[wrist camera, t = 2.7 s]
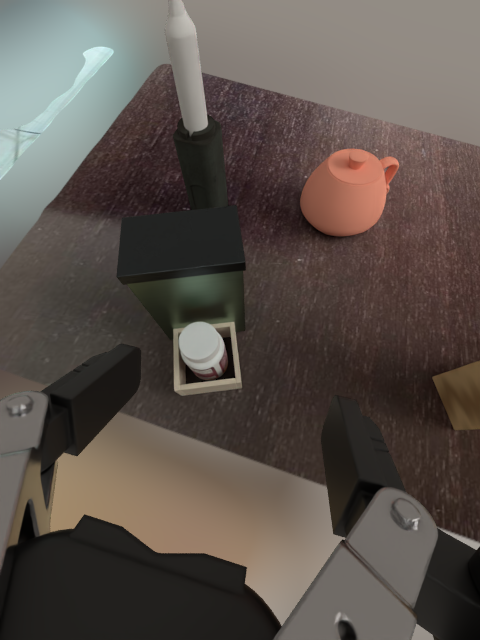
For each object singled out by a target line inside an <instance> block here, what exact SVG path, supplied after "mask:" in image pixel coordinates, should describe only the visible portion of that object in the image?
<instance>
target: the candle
mask: <svg viewBox="0 0 480 640" xmlns="http://www.w3.org/2000/svg"><path fill="white" fill-rule="evenodd" d="M168 13H169V14H168V18H167V22H166V27H165V35H166V41H167V45H168V50H169V55H170V60H171V65H172V69H173V74H174V79H175V84H176V89H177V94H178V98H179V103H180V108H181V113H182V118H181V119H180V120H179V122H178V125H177V127H178V129H177V130H176V131H175V133H174V134H173V138H174V142H175V146H176V150H177V154H178V158H179V162H180V166H181V170H182V174H183V178H184V182H185V186H186V190H187V194H188V198H189V202H190V206H191V210H197V209H206V208H215V207H224V206H228V199H227V188H226V177H225V166H224V155H223V143H222V132H221V124H220V123H219V122H218V121H215V120H214V119H213V118H212V117H211V116H209V115H207V111H206V104H205V96H204V88H203V80H202V73H201V65H200V58H199V50H198V43H197V34H196V28H195V26H194V24H193V22H192V20H191V19H190V17H189V16H188V14H187V12H186V10H185V7H184V4H183V1H182V0H169V10H168Z"/></svg>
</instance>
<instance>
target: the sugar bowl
mask: <svg viewBox="0 0 480 640" xmlns="http://www.w3.org/2000/svg"><path fill="white" fill-rule="evenodd" d="M388 166H389V168H388V169H387V171H386V172H385V173H384V170H383V169H385V168H386V167H388ZM398 168H399V163H398V161H397V160H396V159H395V158H394V157H385V158H383V159H381V160H378V159H377V158H376V157H375V156H374V155H373V154H371V153H369V152H367V151H364V150H361V149H344V150H340V151H338V152H335V153H334V154H332V155H331V156H330V157H328V158H327V159H326V160H325V161H324V162H323V163H321V164H320V165H319V166H318V167H317V168H316V169H315V171H314V172H313V173H312V174H311V176H310V177H309V178H308V180H307V182H306V184H305V186H304V188H303V190H302V194H301V198H300V206H301V210H302V213H303V215H304V216H305V218H306V219H307V221H308V222H309V223H310V224H311V225H312V226H313V227H315V228H316V229H317V230H319V231H321V232H323V233H324V234H326V235H332V236H351V235H356V234H359V233H362V232H364V231H366V230H368V229H369V228H371V227H372V226H373V225H374V224H376V222H377V221H378V220H379V218H380V216H381V214H382V211H383V208H384V205H385V201H386V194H387V193H388V191H389V185H388V183H389V182H390V181H391V180H392V178H393V177H394V175H395V174H396V172H397V170H398Z"/></svg>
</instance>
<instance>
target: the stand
mask: <svg viewBox="0 0 480 640" xmlns="http://www.w3.org/2000/svg"><path fill="white" fill-rule="evenodd" d="M432 379H433V381H434V383H435V386H436V388H437V391H438V393H439V395H440V398H441V400H442V402H443V405H444V407H445V409H446V412H447V414H448V417H449V419H450V421H451V424H452V426H453V428H454V430H471V429H480V361H477V362H474V363H471V364H468V365H465V366H462V367H460V368H457V369H454V370H451V371H448V372H445V373H442V374H439V375H436V376H433V377H432Z"/></svg>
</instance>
